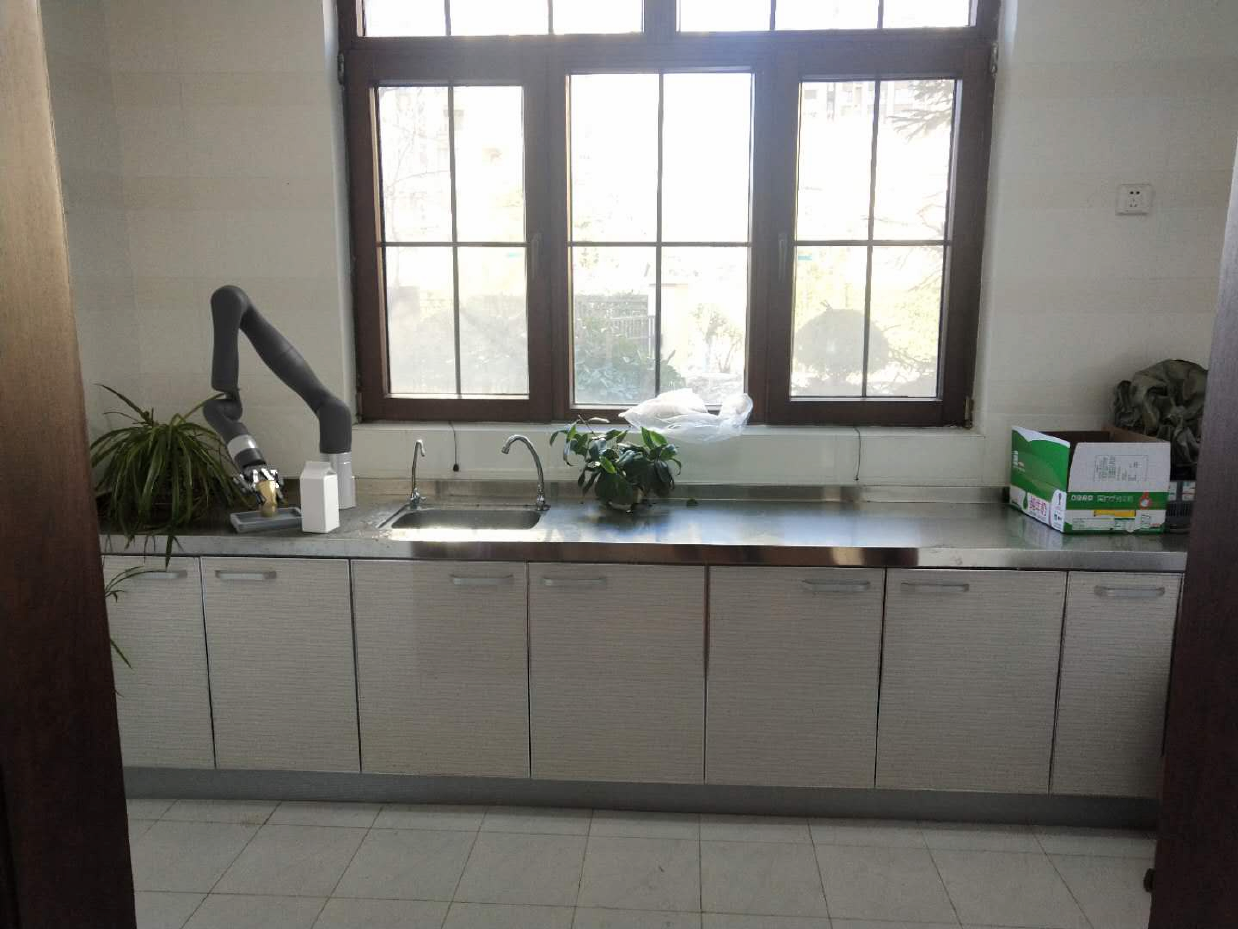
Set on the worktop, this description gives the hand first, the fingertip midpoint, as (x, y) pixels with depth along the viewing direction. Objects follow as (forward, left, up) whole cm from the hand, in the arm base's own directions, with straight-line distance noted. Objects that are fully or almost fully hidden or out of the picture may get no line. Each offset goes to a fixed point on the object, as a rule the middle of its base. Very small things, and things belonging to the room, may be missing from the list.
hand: (271, 502), depth 236 cm
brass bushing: (+1, -2, -4) cm, 5 cm away
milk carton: (-10, +11, -7) cm, 17 cm away
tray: (+1, -2, -6) cm, 7 cm away
